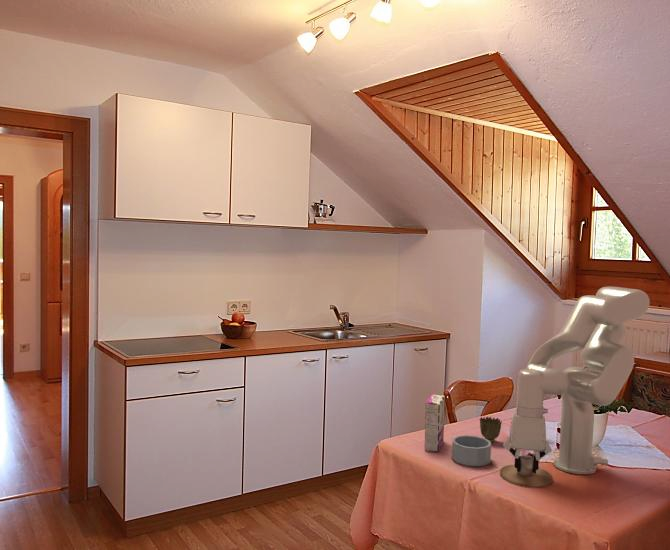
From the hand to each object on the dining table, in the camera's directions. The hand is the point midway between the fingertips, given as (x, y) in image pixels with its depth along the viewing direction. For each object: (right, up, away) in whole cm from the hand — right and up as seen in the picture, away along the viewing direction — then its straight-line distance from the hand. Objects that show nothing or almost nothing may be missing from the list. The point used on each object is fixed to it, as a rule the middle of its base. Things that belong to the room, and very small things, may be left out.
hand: (526, 470), depth 187 cm
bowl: (-14, -1, +13) cm, 19 cm away
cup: (-3, 0, +30) cm, 30 cm away
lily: (+6, -1, +20) cm, 21 cm away
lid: (0, -2, 0) cm, 2 cm away
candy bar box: (-24, 0, +25) cm, 34 cm away
